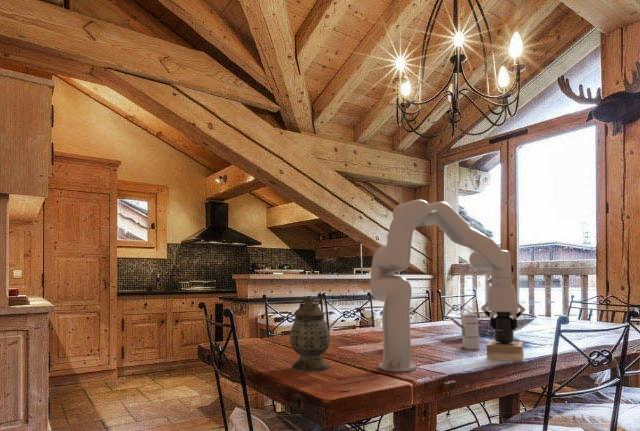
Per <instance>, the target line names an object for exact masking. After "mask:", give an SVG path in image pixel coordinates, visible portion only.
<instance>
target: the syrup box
mask: <svg viewBox="0 0 640 431" xmlns="http://www.w3.org/2000/svg"><path fill="white" fill-rule="evenodd" d="M478 320H479V319H478V314H477V313H474V312H462V313H461V312H460V321H461V339H462V340H461V342H462V348H464V349H465V350H480V334H479V322H478Z"/></svg>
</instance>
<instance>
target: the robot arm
mask: <svg viewBox="0 0 640 431" xmlns="http://www.w3.org/2000/svg"><path fill="white" fill-rule="evenodd" d="M435 225H436V226H437V227H438V228H439V229H440V230H441V231H442V232H443V233H444V234H445V236H447V237H448V238H449V240H451V242H453V243H454V244H457V245H460V246H462V247H466V248H469V249H472V250H474V251H472V252H471V253H470V255H469V258H468V259H469V263H470V265H471V267H473V268H475V269H477V270H490V278H488V279H486V282H487V283H489V284H490V285H489V287H488V298H487V300H488V301H487V302H486V303H485V304H484V305H482V306H481V308H480V309H481V311H482V312H484V314H485V315H486V316H487V317H488V318H489V325H490V327H491V329H492V330H494V318H495V317H494V315H495V314H496V313H497V312H510V315H511V316H512V323H513V331H515V330H516V329H517V328H518V320H517V319H518V318H519V317H521V316H522V314H523V313H524V312H525V311H526V308H525V307H524V306H523V305H522V304H520V303H519V302H518V301H517V294H516V289H515V285H513V279H512V261H511V260H512V258H511V252H510V250H508V249H507V250H506V249H505V250H504V249H502V248H500V246H499V245H498V244H497V243H496V242H495V241H494V240H493V239H492V238H490V237H489V236H488V235H486V234H484V233H482V232H481V231H478V230H477V229H475V228H473V227H471V226H470V225H469V224H468V223H467V222H466V221H465V219H463V218H462V216H460V214H459V213H457V211H456V210H455V209H454V208H453V207H452V205H450V204H449V203H448V202H446V201H435V202H431V203H429V202H428V201H426V200H424V199H413V200H409V201H406V202H402V203H399V204H397V205H396V206H395V207H394V208H393V211H392V220H391V223H390V225H389V227H388V233H387V241H386V245H384V246H380V247H379V248H378V249H377V250H376V251H375V253H374V254H373V257H372V262H371V270H370V285H369V286H370V287H369V289H370V293H371V295H372V297H373V298H374V299H375V300H376V301H379V302H384V304H383V307H382V312H381V322H382V323H381V324H382V353H383V358H382V359H383V362H380V363H378V368H379V369H380V370H381V371H386V372H396V373H397V372H398V373H400V372H401V373H402V372H405V373H406V372H411V371H414V370H416V369H417V365H416V364H415V363H413V362H412V343H411V341H412V340H411V318H410V316H411V310H410V309H411V302H412V301H411V300H412V291H413V290H412V286H411V283H410V282H409V281H408V279H407V278H405V277H404V276H401V275H396V274H395V272H396V273H397V272H404V271H406V270H407V269H408V268H409V266H410V264H411V251H412V240H413V234H414V231H415V230H416V228H417V227H429V226H435ZM487 307H488V308H487ZM517 309H519V311H518V312H517ZM488 310H489V311H488ZM516 312H517V313H516Z"/></svg>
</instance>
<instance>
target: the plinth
mask: <svg viewBox="0 0 640 431" xmlns="http://www.w3.org/2000/svg"><path fill="white" fill-rule="evenodd" d="M524 355H525V353H524V342H523V341H513V342H512V343H502V342H497V341H495V340H489V341H488V342H487V343H486V358H487V360H503V361H514V362H515V361H516V362H517V361H518V362H522V361H523V359H524Z"/></svg>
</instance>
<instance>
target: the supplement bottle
mask: <svg viewBox="0 0 640 431" xmlns="http://www.w3.org/2000/svg"><path fill="white" fill-rule="evenodd" d="M495 314H496V316H495V317H494V329H493V331H494V332H493V333H494V341H497V342H502V343H512V342H515V341H514V340H515V339H514V336H515V335H514V330H513V323H512V319H513V317H511V316H510V315H511V312H495Z"/></svg>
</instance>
